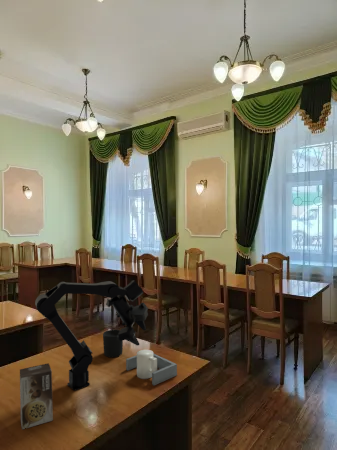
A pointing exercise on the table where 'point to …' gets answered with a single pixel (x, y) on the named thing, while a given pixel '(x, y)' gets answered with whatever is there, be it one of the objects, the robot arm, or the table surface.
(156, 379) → the frame
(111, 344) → the pen holder
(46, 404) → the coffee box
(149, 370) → the jug
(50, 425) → the table surface
